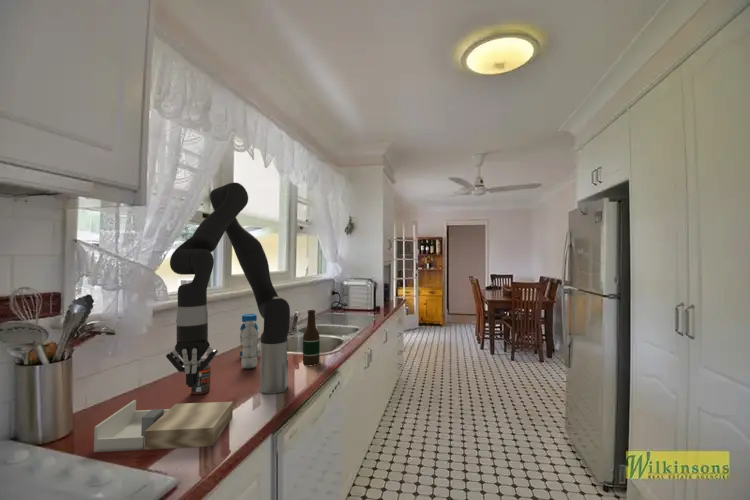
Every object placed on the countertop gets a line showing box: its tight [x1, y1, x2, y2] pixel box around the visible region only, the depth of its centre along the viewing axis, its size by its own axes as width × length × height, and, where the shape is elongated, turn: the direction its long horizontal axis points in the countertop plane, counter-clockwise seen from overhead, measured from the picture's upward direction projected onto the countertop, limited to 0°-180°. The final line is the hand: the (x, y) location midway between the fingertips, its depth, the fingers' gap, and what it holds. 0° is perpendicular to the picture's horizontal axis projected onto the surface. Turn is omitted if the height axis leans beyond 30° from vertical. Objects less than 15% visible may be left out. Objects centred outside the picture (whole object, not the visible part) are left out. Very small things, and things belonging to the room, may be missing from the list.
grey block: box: [141, 408, 164, 437], centre depth 91 cm, size 5×5×3 cm
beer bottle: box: [302, 309, 321, 366], centre depth 154 cm, size 8×8×24 cm
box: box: [93, 399, 170, 453], centre depth 91 cm, size 11×16×6 cm
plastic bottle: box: [240, 321, 258, 370], centre depth 148 cm, size 6×7×20 cm
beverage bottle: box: [239, 313, 259, 359], centre depth 166 cm, size 8×8×20 cm
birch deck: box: [144, 401, 234, 450], centre depth 93 cm, size 16×16×4 cm
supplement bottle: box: [190, 357, 211, 396], centre depth 120 cm, size 6×6×11 cm
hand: (192, 386), depth 92 cm, fingers closed
